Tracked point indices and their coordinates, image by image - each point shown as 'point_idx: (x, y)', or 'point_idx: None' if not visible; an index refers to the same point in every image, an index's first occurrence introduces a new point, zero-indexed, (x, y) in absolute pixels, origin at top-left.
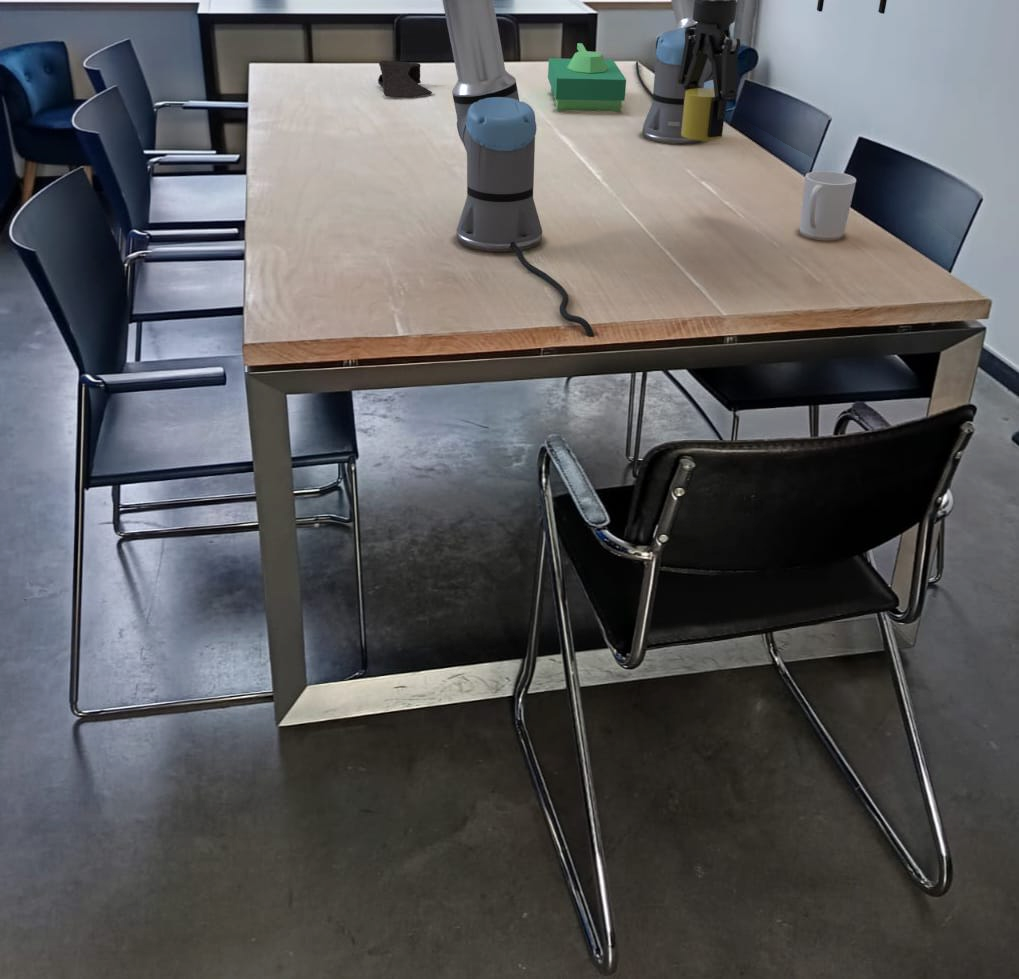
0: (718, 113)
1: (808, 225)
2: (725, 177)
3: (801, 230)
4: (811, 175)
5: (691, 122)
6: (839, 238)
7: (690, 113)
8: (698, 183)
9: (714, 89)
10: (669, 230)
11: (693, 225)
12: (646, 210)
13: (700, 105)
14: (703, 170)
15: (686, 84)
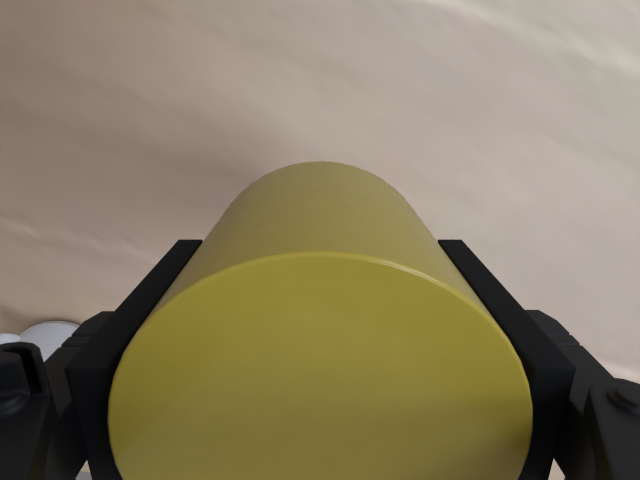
0: (83, 333)
1: (27, 335)
2: None
3: (64, 325)
4: None
5: (267, 191)
6: None
7: (279, 202)
8: None
9: (18, 459)
10: (201, 13)
11: (222, 115)
12: (401, 59)
13: (186, 269)
14: None
15: (619, 417)
